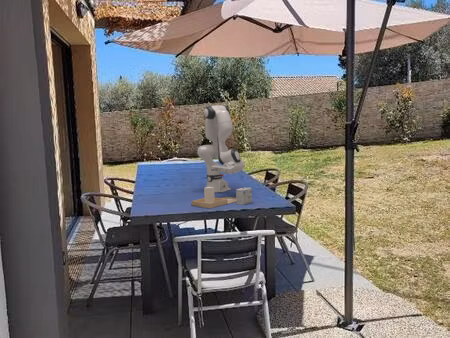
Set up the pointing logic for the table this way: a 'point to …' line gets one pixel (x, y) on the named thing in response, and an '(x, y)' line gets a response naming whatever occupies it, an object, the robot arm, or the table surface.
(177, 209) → the table surface
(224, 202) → the tray
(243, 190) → the light bulb box
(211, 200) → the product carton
